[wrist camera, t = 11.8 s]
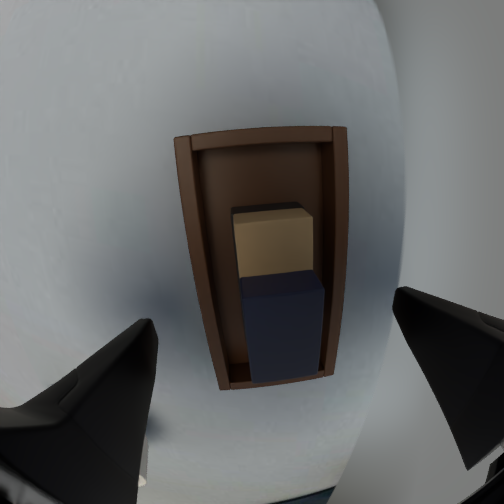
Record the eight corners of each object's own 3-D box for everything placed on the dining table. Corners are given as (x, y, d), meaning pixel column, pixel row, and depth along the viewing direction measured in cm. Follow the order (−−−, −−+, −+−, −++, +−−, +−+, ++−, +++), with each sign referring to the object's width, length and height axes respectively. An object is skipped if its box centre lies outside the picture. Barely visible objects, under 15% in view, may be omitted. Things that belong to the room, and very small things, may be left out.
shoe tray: (328, 129, 11) (347, 126, 9) (324, 352, 15) (333, 375, 13) (182, 139, 10) (172, 137, 8) (220, 365, 15) (219, 391, 13)
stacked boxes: (299, 319, 13) (320, 376, 10) (244, 326, 13) (249, 386, 10) (297, 200, 11) (330, 229, 7) (230, 207, 11) (230, 238, 7)
